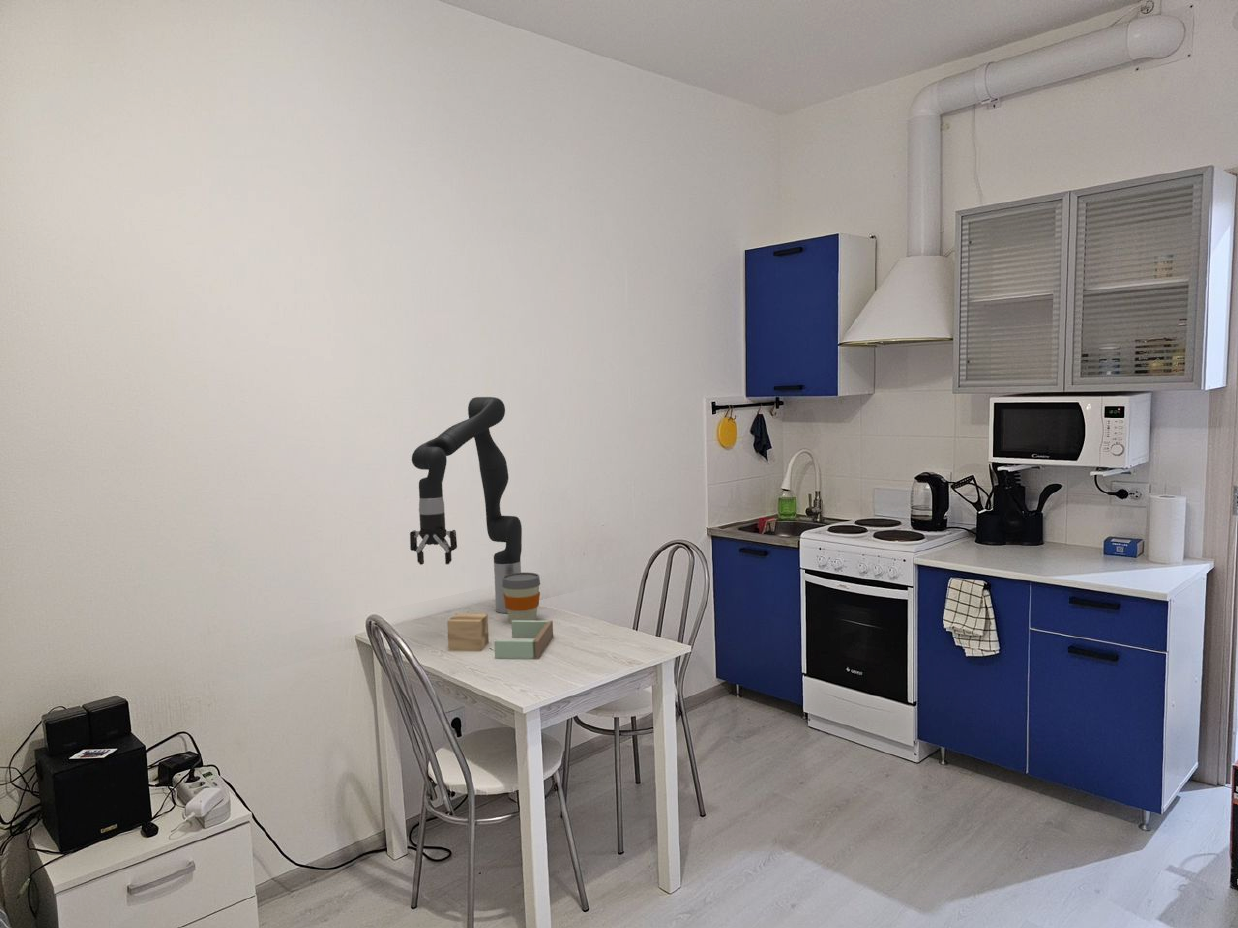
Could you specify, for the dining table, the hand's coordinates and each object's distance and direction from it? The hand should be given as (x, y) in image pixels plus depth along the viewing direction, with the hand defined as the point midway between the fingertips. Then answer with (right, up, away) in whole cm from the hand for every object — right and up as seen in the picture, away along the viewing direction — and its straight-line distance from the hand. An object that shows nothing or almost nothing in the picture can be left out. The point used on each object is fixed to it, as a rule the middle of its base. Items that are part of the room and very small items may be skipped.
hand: (434, 563), depth 251 cm
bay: (+28, -24, -7) cm, 38 cm away
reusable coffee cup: (+25, -22, +20) cm, 39 cm away
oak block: (+12, -24, -5) cm, 27 cm away
